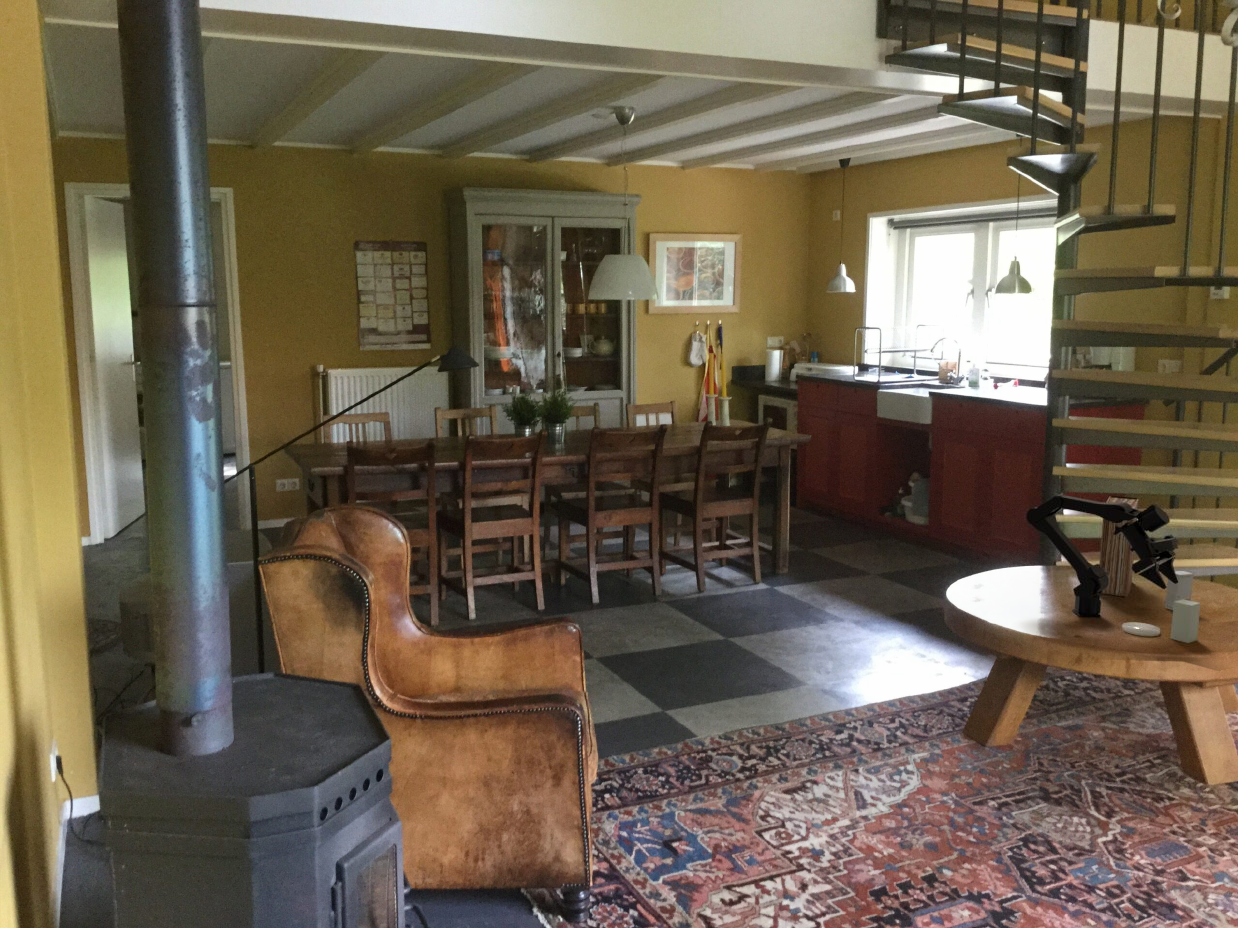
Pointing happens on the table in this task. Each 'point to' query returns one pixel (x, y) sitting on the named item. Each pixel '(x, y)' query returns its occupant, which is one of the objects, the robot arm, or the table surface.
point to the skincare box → (1179, 589)
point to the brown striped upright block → (1117, 553)
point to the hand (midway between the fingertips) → (1171, 585)
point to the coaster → (1141, 629)
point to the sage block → (1185, 620)
